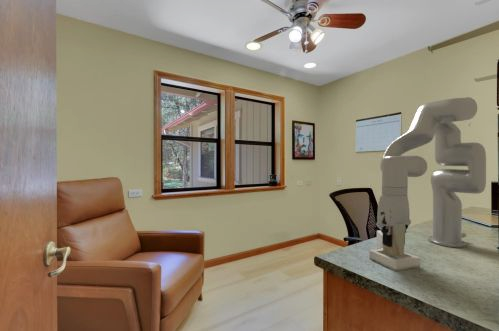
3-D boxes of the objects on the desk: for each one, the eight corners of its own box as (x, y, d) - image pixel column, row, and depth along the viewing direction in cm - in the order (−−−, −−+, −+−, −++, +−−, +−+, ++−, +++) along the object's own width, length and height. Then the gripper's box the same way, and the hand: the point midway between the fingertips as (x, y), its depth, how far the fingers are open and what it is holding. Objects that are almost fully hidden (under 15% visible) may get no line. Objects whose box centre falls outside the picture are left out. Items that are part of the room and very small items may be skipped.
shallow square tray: (391, 255, 89) (391, 247, 89) (419, 266, 79) (419, 257, 79) (369, 258, 86) (369, 250, 86) (395, 271, 76) (396, 261, 76)
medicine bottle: (403, 255, 89) (403, 223, 88) (382, 254, 90) (382, 222, 90) (395, 249, 96) (396, 219, 95) (376, 247, 97) (376, 218, 97)
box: (382, 250, 85) (383, 219, 85) (394, 250, 85) (394, 218, 85) (392, 256, 80) (393, 222, 79) (405, 255, 80) (405, 222, 80)
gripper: (402, 190, 89) (401, 239, 89) (366, 191, 83) (365, 243, 83) (423, 192, 81) (422, 245, 82) (384, 194, 76) (384, 251, 76)
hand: (393, 244), depth 82 cm, fingers closed on box, 5 cm apart
